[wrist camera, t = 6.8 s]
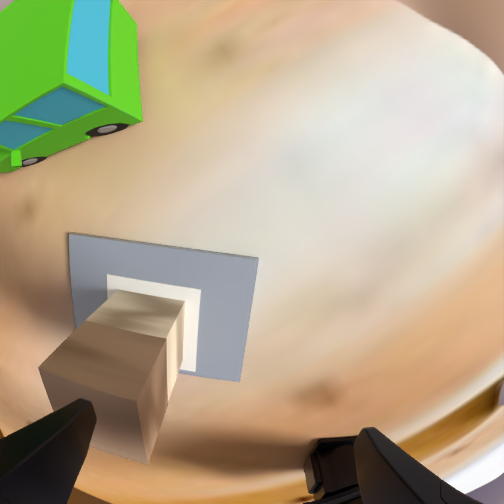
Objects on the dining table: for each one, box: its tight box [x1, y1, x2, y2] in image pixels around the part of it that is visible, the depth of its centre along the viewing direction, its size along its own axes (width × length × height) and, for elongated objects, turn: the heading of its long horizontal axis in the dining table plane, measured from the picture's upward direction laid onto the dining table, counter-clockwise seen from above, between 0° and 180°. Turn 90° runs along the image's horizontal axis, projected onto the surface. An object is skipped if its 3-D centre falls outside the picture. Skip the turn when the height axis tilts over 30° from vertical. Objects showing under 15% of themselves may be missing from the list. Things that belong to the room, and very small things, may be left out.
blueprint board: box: [69, 233, 258, 382], centre depth 19 cm, size 14×10×1 cm
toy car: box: [0, 0, 143, 173], centre depth 11 cm, size 10×13×10 cm
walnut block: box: [38, 320, 168, 465], centre depth 12 cm, size 5×5×5 cm
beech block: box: [86, 290, 185, 402], centre depth 17 cm, size 5×5×5 cm
